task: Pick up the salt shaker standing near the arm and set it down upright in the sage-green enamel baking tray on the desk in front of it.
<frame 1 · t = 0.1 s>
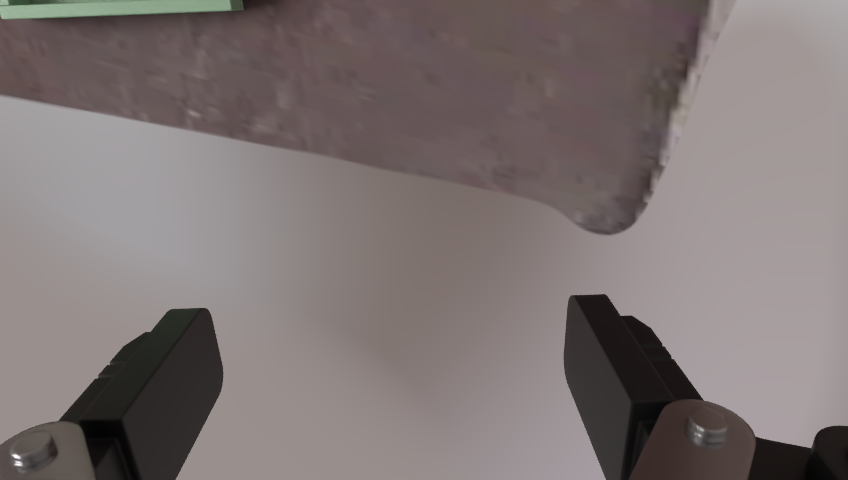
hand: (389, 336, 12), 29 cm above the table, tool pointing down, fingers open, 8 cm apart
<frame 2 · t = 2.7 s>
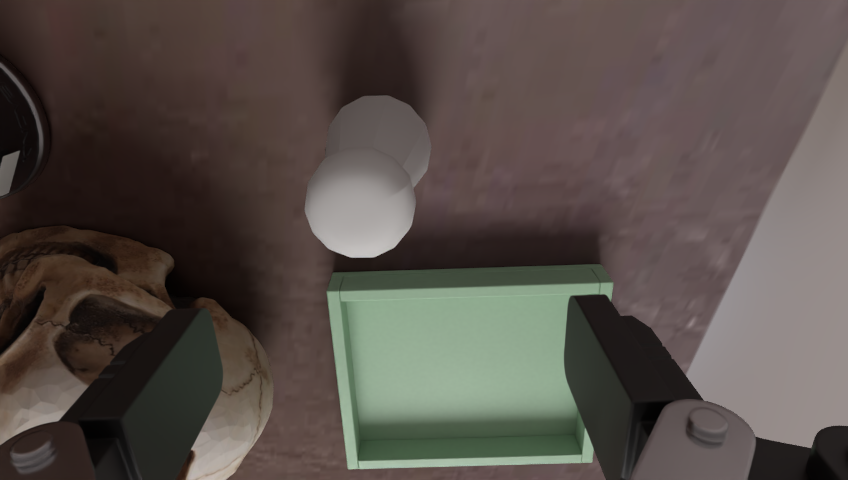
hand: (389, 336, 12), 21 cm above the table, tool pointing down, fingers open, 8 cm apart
salt shaker: (381, 138, 32), on the table
coin bank: (146, 319, 37), on the table
tray: (466, 360, 38), on the table
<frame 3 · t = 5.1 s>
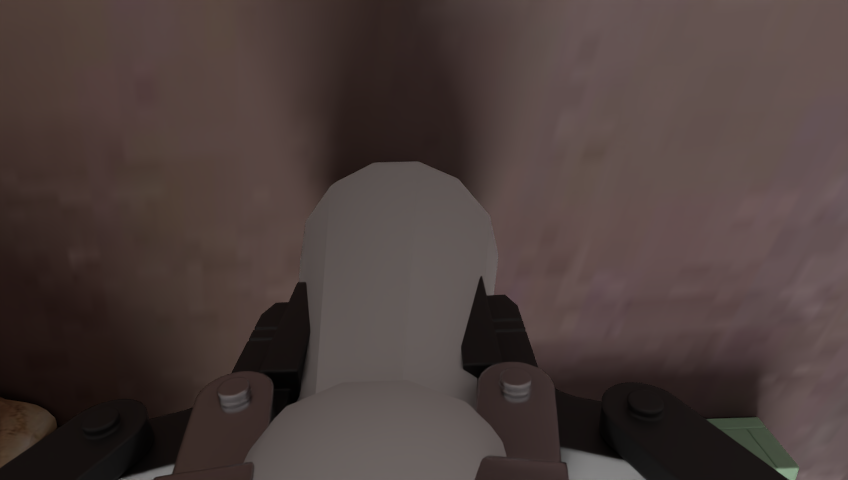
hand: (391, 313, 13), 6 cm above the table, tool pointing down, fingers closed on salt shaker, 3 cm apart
salt shaker: (402, 225, 18), on the table, touching gripper
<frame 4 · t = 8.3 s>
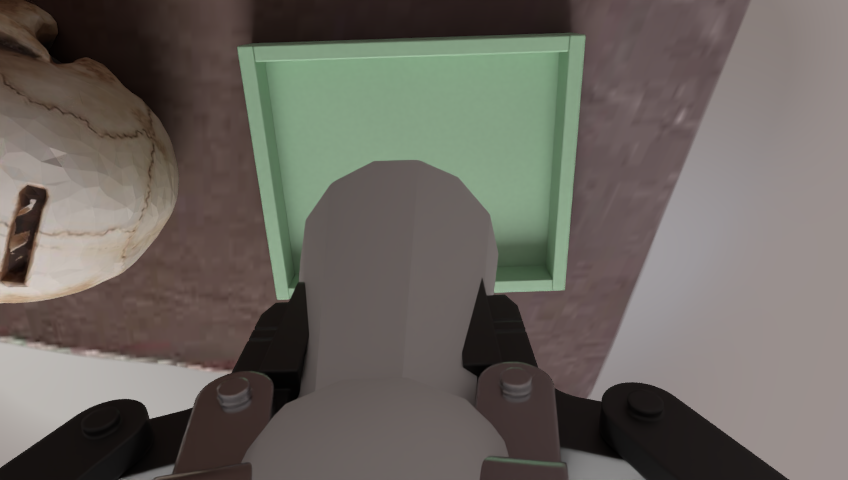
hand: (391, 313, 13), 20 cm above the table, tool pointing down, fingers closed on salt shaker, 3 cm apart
salt shaker: (402, 224, 18), point 14 cm above the table, touching gripper
coin bank: (31, 111, 31), on the table
tray: (416, 167, 32), on the table
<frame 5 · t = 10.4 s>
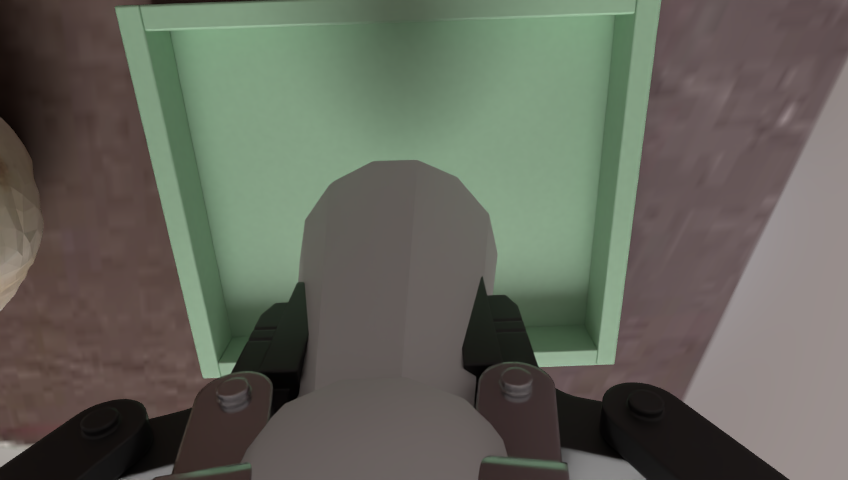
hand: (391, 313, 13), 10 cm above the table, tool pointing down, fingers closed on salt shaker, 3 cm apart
salt shaker: (401, 224, 18), point 4 cm above the table, touching gripper
tray: (401, 189, 22), on the table
when the fingers open (6 cm above the table, at t = 11.7 s): salt shaker stays where it is, resting on tray.
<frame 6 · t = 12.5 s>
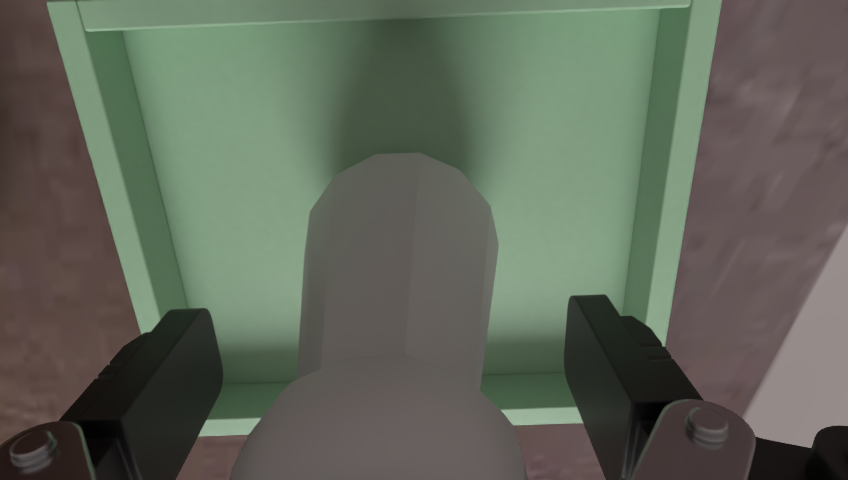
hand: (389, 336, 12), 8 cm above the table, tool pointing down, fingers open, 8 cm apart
salt shaker: (404, 217, 19), resting on tray
tray: (402, 216, 19), on the table
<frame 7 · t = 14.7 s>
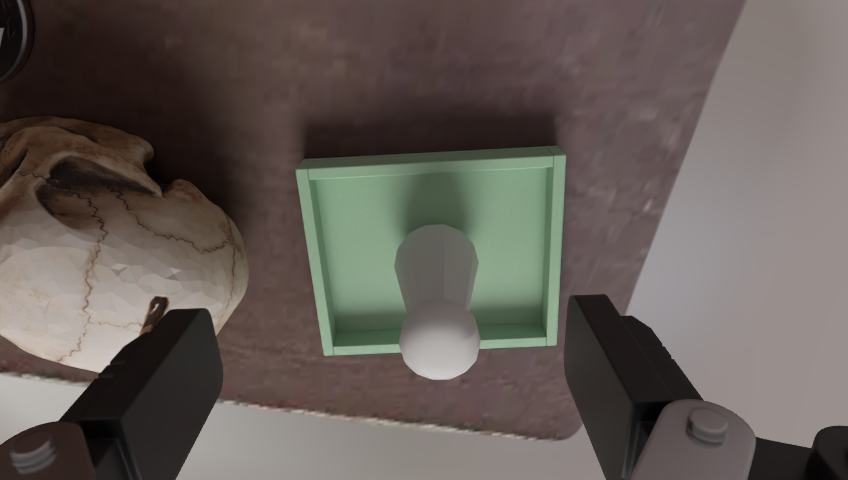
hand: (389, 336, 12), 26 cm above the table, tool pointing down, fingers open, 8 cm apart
salt shaker: (435, 249, 40), resting on tray
coin bank: (130, 212, 39), on the table
tray: (434, 248, 40), on the table
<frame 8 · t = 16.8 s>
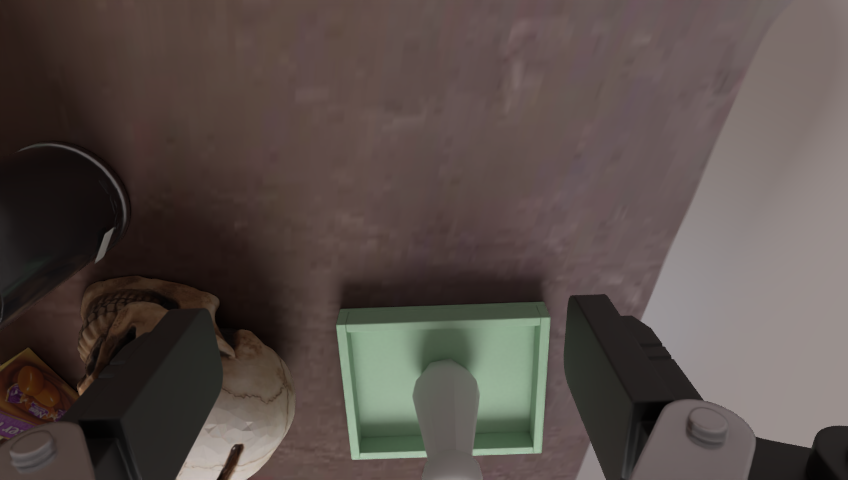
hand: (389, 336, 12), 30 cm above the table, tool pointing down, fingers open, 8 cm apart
candy box: (53, 386, 50), on the table
salt shaker: (444, 376, 49), resting on tray
coin bank: (196, 345, 48), on the table
tray: (443, 374, 49), on the table
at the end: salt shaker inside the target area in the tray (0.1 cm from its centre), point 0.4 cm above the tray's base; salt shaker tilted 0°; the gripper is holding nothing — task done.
